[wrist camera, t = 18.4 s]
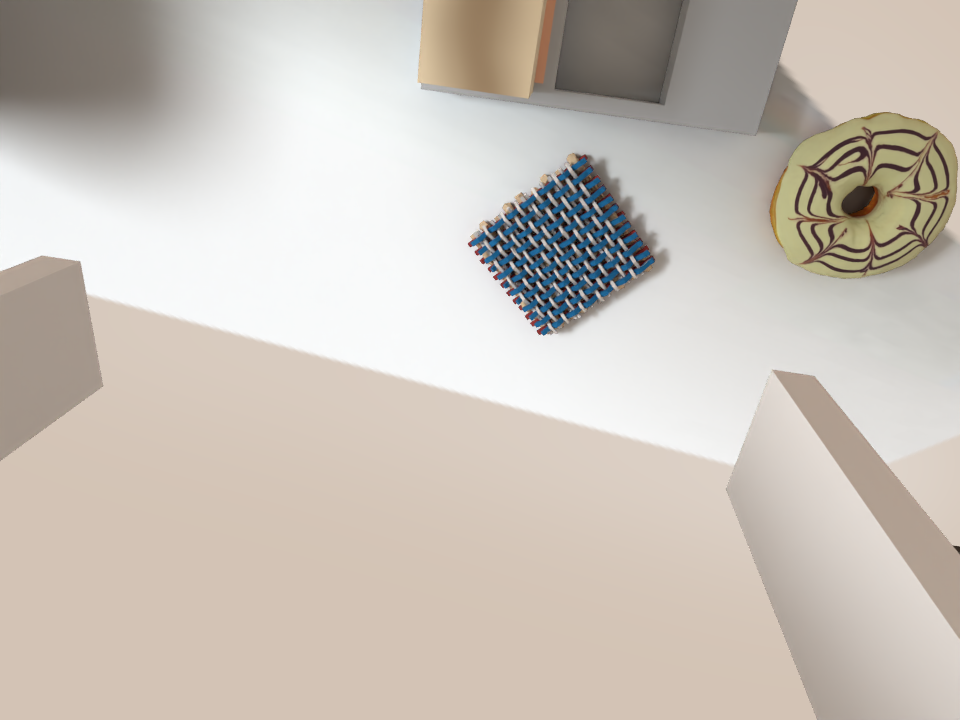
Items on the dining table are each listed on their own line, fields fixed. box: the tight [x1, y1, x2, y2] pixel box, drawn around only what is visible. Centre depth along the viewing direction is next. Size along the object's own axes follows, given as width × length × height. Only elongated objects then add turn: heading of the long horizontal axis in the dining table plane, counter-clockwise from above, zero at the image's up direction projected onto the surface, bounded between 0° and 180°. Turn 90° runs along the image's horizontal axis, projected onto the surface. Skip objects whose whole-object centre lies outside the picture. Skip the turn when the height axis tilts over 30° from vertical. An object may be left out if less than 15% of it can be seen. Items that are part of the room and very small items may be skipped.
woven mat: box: [468, 153, 655, 335], centre depth 45 cm, size 10×11×2 cm
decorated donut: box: [770, 112, 958, 279], centre depth 40 cm, size 10×11×4 cm
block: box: [418, 0, 547, 99], centre depth 34 cm, size 6×8×7 cm
